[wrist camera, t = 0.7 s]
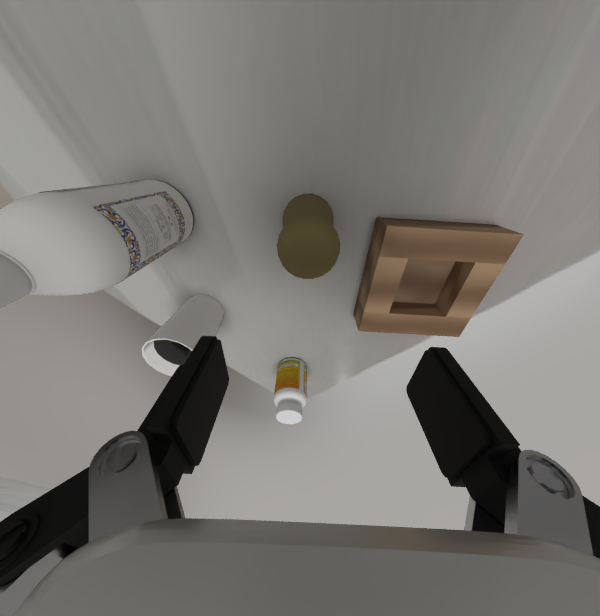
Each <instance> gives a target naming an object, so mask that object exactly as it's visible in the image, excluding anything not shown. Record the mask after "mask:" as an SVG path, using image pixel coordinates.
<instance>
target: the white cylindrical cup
mask: <svg viewBox="0 0 600 616" xmlns="http://www.w3.org/2000/svg"><path fill="white" fill-rule="evenodd" d="M223 316H224V311H223V308H222V306H221V305H220V304H219V302H218V301H216V300H215V299H213V298H212V297H210V296H206V295H195V296H192V297H190V298H189V299H188V300H187V301H186V302H185V303H184V304H183V305H182V306H181V307H180V308H179V309H178V310H177V311H176V312H175V313H174V314H173V315H172V316H171V317H170V318H169V319H168V320H167V321H166V323H165V324H164V325H163V326H162V327H161V328H160V329H159V330H158V331H157V332H156V333H155V334H154V335H153V336H152V337H151V338H150V339H149V340H148V341H147V342H146V343H145V345H144V346H143V348H142V354H143V357H144V358H145V360H146V362H147V363H148V364H149V365H150V366H152V367H153V368H154V369H155V370H157V371H159V372H162V373H164V374H166V375H169V376H173V374H174V372H175V371H176V369H177V368H178V367H179V366H180V365H181V364H185V362H186V360H187V359H188V357H189V355H190V354H191V352H192V351H193V349H194V347H195V346H196V344H197V342H198V341H199V339H200V338H201V336H215V335H216V333H217V330H218V328H219V326H220V324H221V322H222V319H223Z"/></svg>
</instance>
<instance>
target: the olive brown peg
mask: <svg viewBox="0 0 600 616" xmlns="http://www.w3.org/2000/svg"><path fill="white" fill-rule="evenodd" d="M277 249H278V256H279V258H280V261H281V263H282V265H283V266H284V267H285V269H286V270H287V271H288V272H289V273H291V274H293V275H294V276H296V277H300V278H304V279H314V278H317V277H320V276H322V275H324V274H325V273H327V272H328V271H330V269H331V268H332V267H333V266H334V265H335V263H336V260H337V258H338V255H339V251H340V241H339V238H338V234H337V232H336V230H335V229H334V227H333V214H332V210H331V208H330V206H329V205H328V203H327V202H326V201H325V200H324V199H322V198H321V197H320V196H317V195H314V194H303V195H300V196H298V197H295V198H294V199H293V200H292V201H291V202H290V203H289V204H288V206H287V207H286V209H285V211H284V216H283V230H282V231H281V233H280V235H279V239H278V243H277Z"/></svg>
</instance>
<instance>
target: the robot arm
mask: <svg viewBox="0 0 600 616" xmlns="http://www.w3.org/2000/svg"><path fill="white" fill-rule="evenodd" d="M228 382H229V377H228V372H227V367H226V363H225V358H224V354H223V349H222V345H221V341H220V340H217V337H216V336H201V338H200V339H199V341H198V342H197V344H196V346H195V347H194V349H193V351H192V352H191V354H190V355H189V357H188V359H187V360H186V362H185V364H181V365H180V366H179V367H178V368H177V369H176V371H175V372H174V374H173V376H172V377H171V379H170V380H169V382H168V384H167V385H166V387H165V388H164V390H163V391H162V393H161V394H160V396H159V398H158V399H157V401H156V402H155V404H154V406H153V407H152V409H151V410H150V412H149V414H148V415H147V417H146V418H145V420H144V421H143V423H142V425H141V426H140V428H139V429H138V431H128V432H124V433H122V434H119V435H117V436H115V437H114V438H112V439H111V440H109V441H108V442H107V443H106V444H104V445H103V446H102V447H101V448H100V449H99V451H98V452H97V453H96V454H95V456H94V458H93V460H92V461H91V464H90V467H88V468H86V469H85V470H83V471H82V472H80V473H79V474H77V475H75V476H73V477H72V478H70V479H68V480H67V481H65V482H63V483H62V484H60V485H59V486H57V487H55V488H54V489H52V490H50V491H49V492H47V493H45V494H44V495H42V496H41V497H39V498H37V499H36V500H34V501H32V502H31V503H29V504H27V505H26V506H24V507H22V508H21V509H19V510H18V511H16V512H14V513H13V514H11V515H10V516H8V517H7V518H5V519H4V520H3V521H1V522H0V616H600V507H599V506H598V505H596V504H595V503H593V502H591V501H590V500H588V499H587V498H585V497H584V496H582V493H581V491H580V488H579V486H578V485H577V483H576V482H575V480H574V479H573V478H572V476H570V474H569V473H568V472H567V471H566V470H565V469H564V468H563V467H561V466H560V465H559V464H558V463H557V462H555V461H554V460H552V459H551V458H549V457H548V456H546V455H544V454H541V453H539V452H536V451H533V450H524V451H522V452H521V450H520V449H519V448H518V446H519V445H520V444H519V443H518V442H517V440H516V439H515V438H514V436H513V435H512V434H511V433H510V431H509V430H508V428H507V427H506V426H505V425H504V423H503V422H502V420H501V419H500V418H499V417H498V415H497V414H496V413H495V412H494V410H493V409H492V407H491V406H490V405H489V403H488V402H487V401H486V400H485V398H484V397H483V395H482V394H481V393H480V392H479V390H478V389H477V388H476V386H475V385H474V384H473V383H472V381H471V380H470V378H469V377H468V376H467V374H466V373H465V372H464V371H463V369H462V368H461V367H460V365H459V364H458V363H457V361H456V360H455V359H454V357H453V356H452V355H451V353H450V352H449V351H448V350H447V349H446V348H439V347H430V348H429V349H428V350H426V351H425V352H424V354H423V356H422V358H421V360H420V362H419V364H418V366H417V368H416V370H415V372H414V374H413V376H412V378H411V379H410V381H409V384H408V385H407V394H408V397H409V399H410V401H411V404H412V406H413V408H414V410H415V413H416V415H417V417H418V420H419V422H420V424H421V426H422V429H423V431H424V433H425V436H426V438H427V440H428V442H429V445H430V447H431V449H432V452H433V454H434V456H435V458H436V461H437V463H438V465H439V468H440V470H441V472H442V473H443V475H444V476H445V477H447V478H448V480H449V483H450V485H451V486H456V487H466V488H467V490H468V492H469V494H470V498H469V504H468V510H467V517H466V523H465V528H464V530H446V529H427V528H407V527H389V526H368V525H347V524H325V523H304V522H280V521H256V520H233V519H186V518H185V516H184V512H183V508H182V504H181V500H180V497H179V493H178V489H177V485H178V484H179V481H180V479H181V476H182V474H183V473H185V474H192V472H193V470H194V467H195V466H197V465H199V463H200V462H201V459H202V457H203V454H204V451H205V448H206V445H207V443H208V440H209V437H210V434H211V431H212V429H213V426H214V423H215V420H216V417H217V414H218V412H219V409H220V406H221V403H222V400H223V397H224V395H225V392H226V389H227V386H228Z"/></svg>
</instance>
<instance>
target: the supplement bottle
mask: <svg viewBox="0 0 600 616" xmlns="http://www.w3.org/2000/svg"><path fill="white" fill-rule="evenodd" d="M306 401H307V368H306V365H305V363H304V362H303V361H301V360H299V359H296V358H287V359H284V360H282V361H281V362H280V363H279V365H278V370H277V378H276V385H275V392H274V403H275V405H276V406H277V410H276V418H277V420H278V421H279V422H281V423H285V424H295V423H298V422H300V421H301V419H302V408H303V407H304V406H305V404H306Z"/></svg>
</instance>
